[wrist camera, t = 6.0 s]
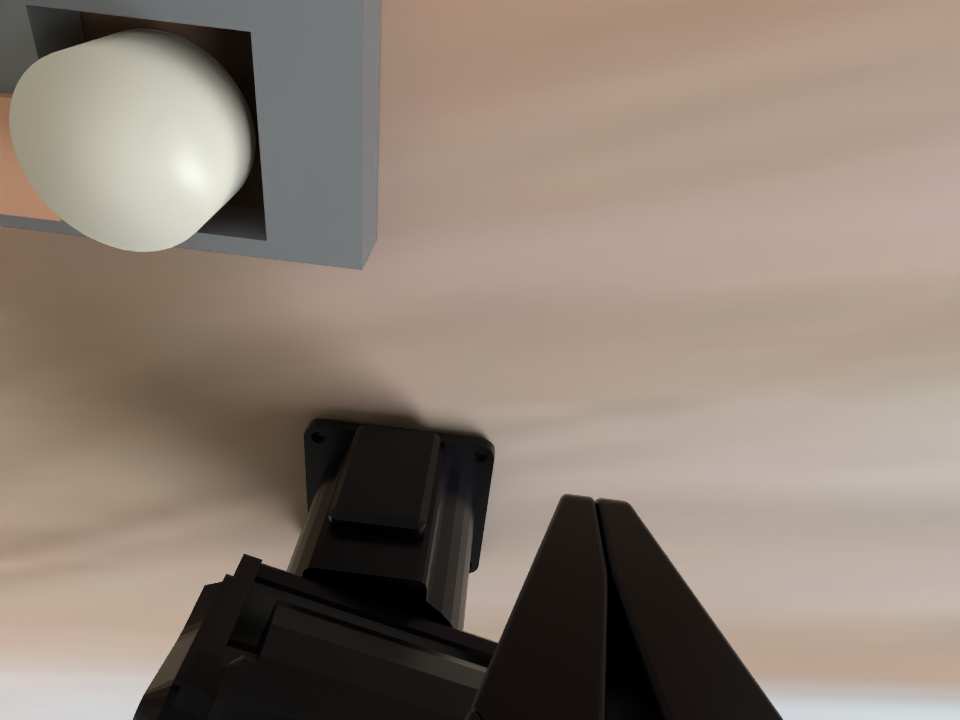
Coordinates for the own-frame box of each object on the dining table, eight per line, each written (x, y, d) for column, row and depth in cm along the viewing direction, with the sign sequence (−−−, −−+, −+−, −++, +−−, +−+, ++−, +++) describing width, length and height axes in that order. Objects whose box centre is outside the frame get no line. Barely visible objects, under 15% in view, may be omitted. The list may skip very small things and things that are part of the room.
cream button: (262, 220, 18) (225, 262, 16) (97, 200, 18) (38, 240, 16) (248, 40, 16) (202, 61, 14) (58, 17, 16) (-18, 35, 14)
